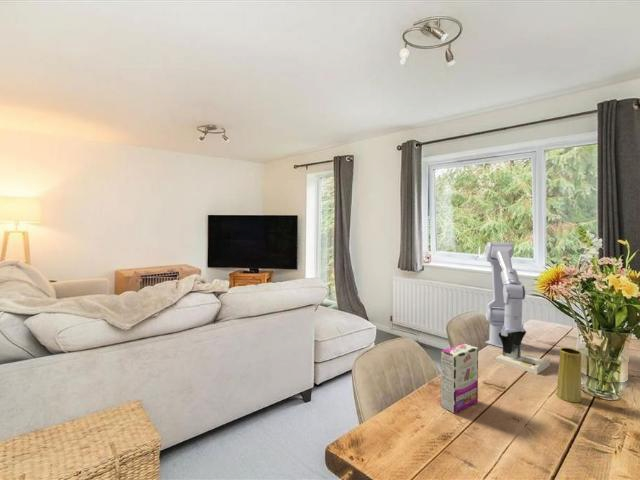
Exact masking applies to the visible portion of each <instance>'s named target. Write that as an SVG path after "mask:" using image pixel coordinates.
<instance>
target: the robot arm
mask: <svg viewBox="0 0 640 480" xmlns="http://www.w3.org/2000/svg"><path fill="white" fill-rule="evenodd" d="M514 249H515V247H514V244H513V243H512V242H511V241H509V242H502V241H501V242H496V241H495V242H494V241H492V242H491V241H488V242H486V248H485V258H486V261H487V262H488V263H489V264H490V266H491V267H490V268H491V283H492V285H491V286H492V300H490V301H489V302H488V303H486V305H485V306H486V307H485V308H486V309H485V319H486V321H487V322H488V323H489V336H488V337H489V339H488V340H486V341H485V344H488V345H491V346H496V347H499V348H502V349H503V348H504V352H505V353H508V354H511V352H512V347H513V344H514V345H517V346H521V345H522V341H523V338H524V337H525V335H526V334H527V331H526V329H525V328H524V323H522V321H523V300H525V298H526V287H525V285H524V284H523V283H522V282H521V281H520V279H519V275H518V272H517V270H515V269H514V268H513V263H512V259H513V255H514V254H515V253H514V252H515V250H514ZM511 258H512V259H511Z"/></svg>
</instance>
